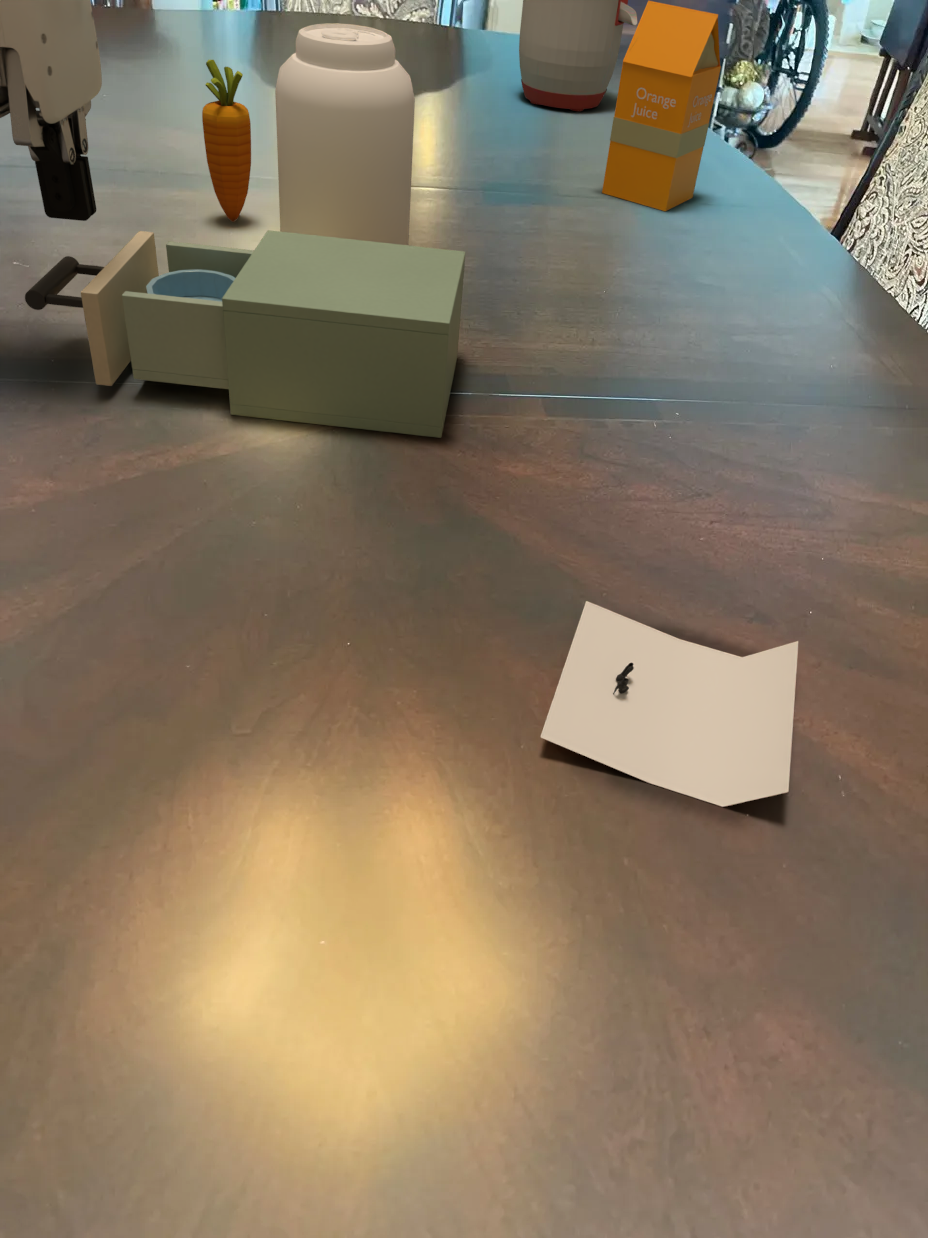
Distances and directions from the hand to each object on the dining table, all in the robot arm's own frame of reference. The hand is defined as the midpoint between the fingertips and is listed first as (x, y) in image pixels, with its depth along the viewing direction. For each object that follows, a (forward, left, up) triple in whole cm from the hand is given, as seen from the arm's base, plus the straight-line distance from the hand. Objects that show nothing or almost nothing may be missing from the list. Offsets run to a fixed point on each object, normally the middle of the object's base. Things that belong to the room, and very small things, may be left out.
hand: (71, 214), depth 74 cm
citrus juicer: (+38, +99, -11) cm, 107 cm away
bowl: (+9, 0, -9) cm, 12 cm away
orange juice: (+48, +57, -11) cm, 75 cm away
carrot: (+3, +33, -11) cm, 35 cm away
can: (+16, +26, -11) cm, 32 cm away
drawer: (+7, 0, -10) cm, 12 cm away
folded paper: (+44, -33, -11) cm, 56 cm away
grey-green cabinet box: (+21, 0, -11) cm, 23 cm away
